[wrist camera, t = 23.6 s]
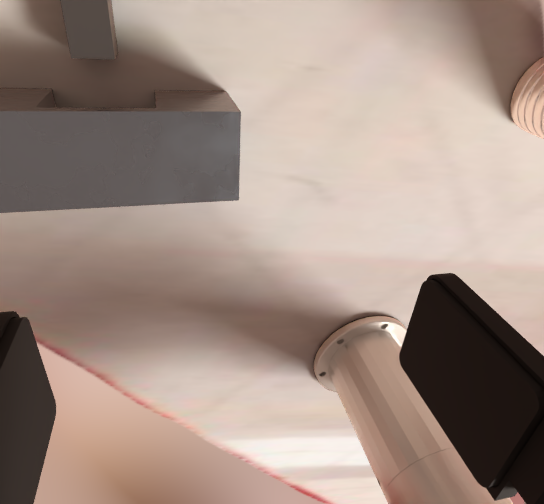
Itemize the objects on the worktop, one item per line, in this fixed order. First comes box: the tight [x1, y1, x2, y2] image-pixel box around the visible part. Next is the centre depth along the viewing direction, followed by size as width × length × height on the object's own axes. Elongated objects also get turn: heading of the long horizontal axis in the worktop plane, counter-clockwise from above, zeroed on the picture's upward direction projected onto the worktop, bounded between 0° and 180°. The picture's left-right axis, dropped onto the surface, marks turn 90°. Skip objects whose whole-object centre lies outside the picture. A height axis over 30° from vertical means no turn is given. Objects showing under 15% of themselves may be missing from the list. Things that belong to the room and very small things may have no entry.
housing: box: [0, 88, 241, 213], centre depth 26 cm, size 6×16×6 cm, turn 86°
